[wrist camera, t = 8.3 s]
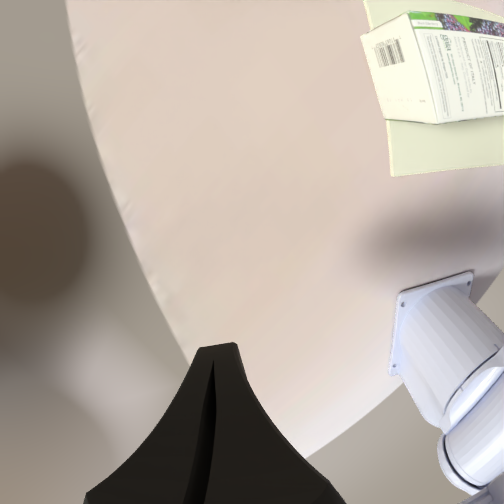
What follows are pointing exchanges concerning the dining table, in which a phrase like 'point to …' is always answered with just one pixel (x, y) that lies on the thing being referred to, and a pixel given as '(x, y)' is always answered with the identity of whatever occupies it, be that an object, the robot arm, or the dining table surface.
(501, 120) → the mat
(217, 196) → the dining table surface
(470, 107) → the syrup box
